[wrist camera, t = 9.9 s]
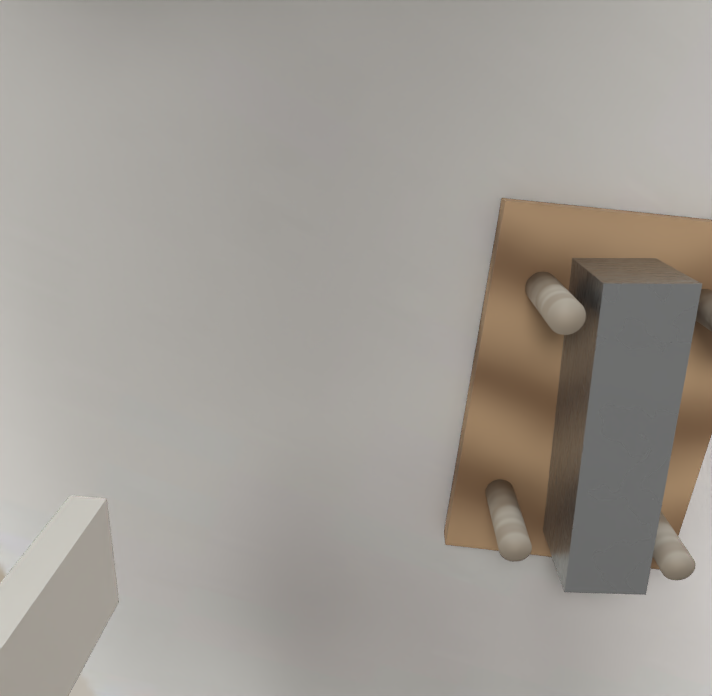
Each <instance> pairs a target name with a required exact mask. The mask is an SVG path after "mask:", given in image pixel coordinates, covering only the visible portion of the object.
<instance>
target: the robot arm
mask: <svg viewBox="0 0 712 696" xmlns="http://www.w3.org/2000/svg"><path fill="white" fill-rule="evenodd" d="M118 603H119V598H118V590H117V581H116V573H115V564H114V556H113V547H112V538H111V530H110V521H109V513H108V504H107V498H97V497H84V496H71V495H70V496H69V498H68V499H67V500H66V501H65V503H64V504H63V505H62V506H61V508H60V509H59V510H58V511H57V513H56V514H55V515H54V516H53V518H52V519H51V520H50V521H49V523H48V524H47V525H46V526H45V528H44V529H43V530H42V531H41V533H40V534H39V535H38V536H37V538H36V539H35V540H34V541H33V543H32V544H31V545H30V546H29V548H28V549H27V550H26V551H25V553H24V554H23V555H22V556H21V558H20V559H19V560H18V561H17V563H16V564H15V565H14V566H13V568H12V569H11V570H10V571H9V573H8V574H7V575H6V577H5V578H4V579H3V580H2V582H1V583H0V696H69V693H70V692H71V690H72V688H73V686H74V684H75V683H76V681H77V679H78V677H79V675H80V673H81V671H82V670H83V668H84V666H85V664H86V662H87V660H88V658H89V657H90V655H91V653H92V651H93V649H94V647H95V645H96V643H97V642H98V640H99V638H100V636H101V634H102V632H103V630H104V629H105V627H106V625H107V623H108V621H109V619H110V617H111V616H112V614H113V612H114V610H115V608H116V606H117V604H118Z"/></svg>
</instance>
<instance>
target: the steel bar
mask: <svg viewBox="0 0 712 696" xmlns="http://www.w3.org/2000/svg"><path fill="white" fill-rule="evenodd" d="M701 288H702V283H700V282H698V281H696V280H695V279H693V278H691V277H689V276H687V275H686V274H684V273H682V272H680V271H678V270H676V269H675V268H673V267H671V266H669V265H667V264H666V263H664V262H662V261H660V260H658V259H657V258H572V265H571V274H570V284H569V292H570V293H571V294H572V295H573V296H574V297H575V298H576V299H577V300H578V301H579V302H580V303H581V304H582V306H583V307H584V309H585V312H586V319H585V322H584V324H583V326H582V327H581V328H580V329H579V330H578V331H576V332H575V333H572V334H569V335H564V339H563V349H562V358H561V367H560V376H559V386H558V395H557V404H556V414H555V423H554V432H553V441H552V451H551V460H550V469H549V479H548V488H547V497H546V507H545V516H544V525H543V533H544V536H545V538H546V541H547V544H548V547H549V550H550V553H551V555H552V558H553V561H554V564H555V567H556V569H557V572H558V575H559V578H560V581H561V584H562V586H563V589H564V592H580V593H612V594H645V595H646V590H647V585H648V579H649V574H650V568H651V563H652V557H653V552H654V546H655V541H656V535H657V530H658V524H659V519H660V513H661V508H662V502H663V497H664V491H665V486H666V480H667V475H668V469H669V464H670V458H671V453H672V447H673V442H674V436H675V431H676V425H677V420H678V414H679V409H680V403H681V398H682V392H683V387H684V381H685V376H686V370H687V365H688V359H689V354H690V348H691V343H692V337H693V332H694V326H695V321H696V315H697V310H698V304H699V299H700V294H701Z"/></svg>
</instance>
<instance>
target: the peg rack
mask: <svg viewBox="0 0 712 696" xmlns="http://www.w3.org/2000/svg"><path fill="white" fill-rule="evenodd" d="M572 258H657V259H658V260H660V261H662V262H664V263H666V264H667V265H669V266H671V267H673V268H675V269H676V270H678V271H680V272H682V273H684V274H686V275H687V276H689V277H691V278H693V279H695V280H696V281H698V282H700V283H702V288H701V294H700V299H699V304H698V310H697V315H696V321H695V326H694V332H693V337H692V343H691V348H690V354H689V359H688V365H687V370H686V376H685V381H684V387H683V392H682V398H681V403H680V409H679V414H678V420H677V425H676V431H675V436H674V442H673V447H672V453H671V458H670V464H669V469H668V475H667V480H666V486H665V491H664V497H663V502H662V508H661V513H660V519H659V524H658V530H657V535H656V541H655V546H654V552H653V557H652V563H651V568H652V569H660V570H661V571H662V573H663V575H664V576H665V577H667V578H668V579H671V580H682V579H685V578H687V577H689V576H690V575H691V574H692V573H693V571H694V569H695V561H694V559H693V558H692V556H691V555H690V553H689V552H688V550H687V549H686V547H685V546H684V545H683V543H682V542H681V540H680V539H679V537H678V535H679V532H680V529H681V526H682V523H683V520H684V517H685V514H686V511H687V507H688V504H689V501H690V498H691V495H692V492H693V489H694V486H695V483H696V480H697V477H698V474H699V471H700V468H701V465H702V462H703V459H704V456H705V453H706V450H707V447H708V444H709V441H710V438H711V435H712V220H709V219H699V218H690V217H680V216H670V215H661V214H651V213H642V212H632V211H622V210H613V209H603V208H593V207H584V206H574V205H565V204H555V203H545V202H536V201H526V200H516V199H507V198H502V199H501V205H500V211H499V216H498V222H497V228H496V234H495V240H494V245H493V251H492V257H491V263H490V269H489V274H488V280H487V286H486V292H485V298H484V303H483V309H482V315H481V321H480V327H479V332H478V338H477V344H476V350H475V356H474V361H473V367H472V373H471V379H470V385H469V390H468V396H467V402H466V408H465V414H464V419H463V425H462V431H461V437H460V443H459V448H458V454H457V460H456V466H455V472H454V477H453V483H452V489H451V495H450V501H449V506H448V512H447V518H446V524H445V530H444V535H445V544H446V545H454V546H463V547H471V548H480V549H488V550H497V551H499V552H500V554H501V556H502V557H503V558H505V559H506V560H509V561H521V560H523V559H525V558H527V557H528V556H529V554H532V555H540V556H549V557H552V555H551V553H550V550H549V547H548V544H547V541H546V538H545V536H544V533H543V525H544V516H545V507H546V497H547V488H548V479H549V469H550V460H551V451H552V441H553V432H554V423H555V414H556V404H557V395H558V386H559V376H560V367H561V358H562V349H563V339H564V335H569V334H572V333H575V332H576V331H578V330H579V329H580V328H581V327H582V326H583V324H584V322H585V319H586V312H585V309H584V307H583V306H582V304H581V303H580V302H579V301H578V300H577V299H576V298H575V297H574V296H573V295H572V294H571V293H570V292H569V284H570V274H571V265H572Z"/></svg>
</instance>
